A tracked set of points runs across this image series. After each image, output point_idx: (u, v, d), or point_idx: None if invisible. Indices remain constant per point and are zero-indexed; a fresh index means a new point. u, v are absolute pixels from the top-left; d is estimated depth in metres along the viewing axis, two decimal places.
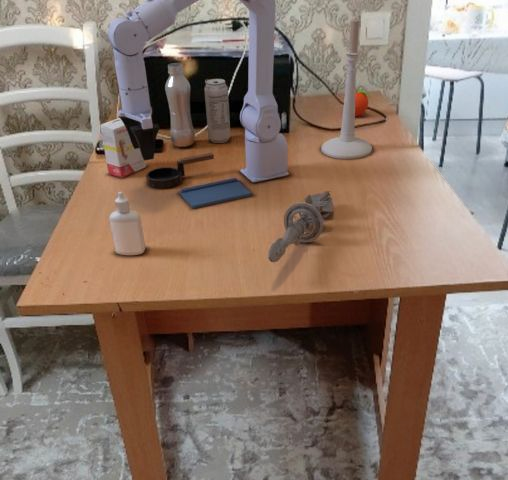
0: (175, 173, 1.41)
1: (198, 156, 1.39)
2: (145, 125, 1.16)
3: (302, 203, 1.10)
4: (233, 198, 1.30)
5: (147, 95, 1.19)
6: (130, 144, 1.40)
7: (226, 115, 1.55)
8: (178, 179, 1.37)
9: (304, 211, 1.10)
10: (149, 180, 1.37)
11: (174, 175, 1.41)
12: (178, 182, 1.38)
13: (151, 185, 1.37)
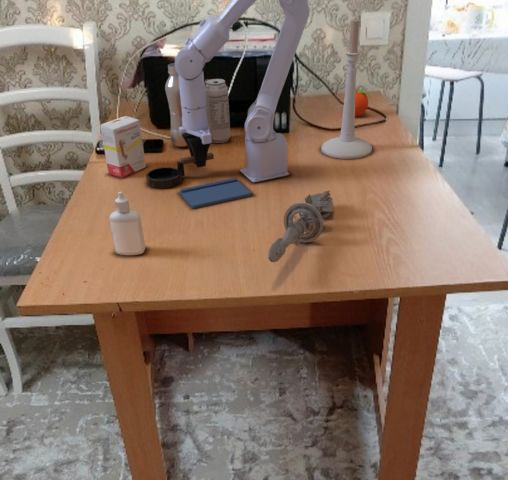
0: (175, 173, 1.41)
1: None
2: (205, 140, 1.31)
3: (302, 203, 1.10)
4: (233, 198, 1.30)
5: (206, 113, 1.33)
6: (130, 144, 1.40)
7: (226, 115, 1.55)
8: (178, 179, 1.37)
9: (304, 211, 1.10)
10: (149, 180, 1.37)
11: (174, 175, 1.41)
12: (178, 182, 1.38)
13: (151, 185, 1.37)
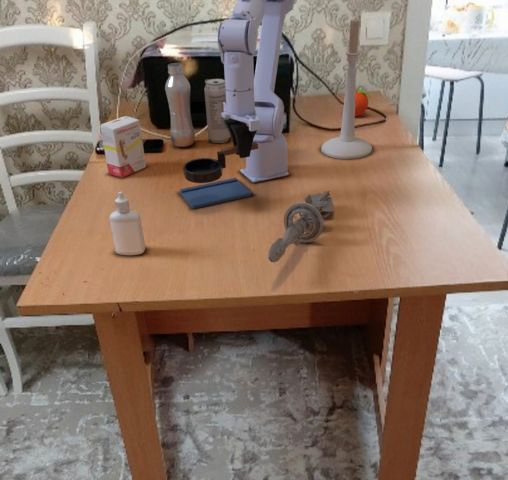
0: (215, 165, 1.26)
1: None
2: (253, 127, 1.15)
3: (302, 203, 1.10)
4: (233, 198, 1.30)
5: (253, 97, 1.18)
6: (130, 144, 1.40)
7: None
8: (219, 172, 1.22)
9: (304, 211, 1.10)
10: (187, 173, 1.22)
11: (214, 167, 1.26)
12: (219, 175, 1.23)
13: (188, 178, 1.22)
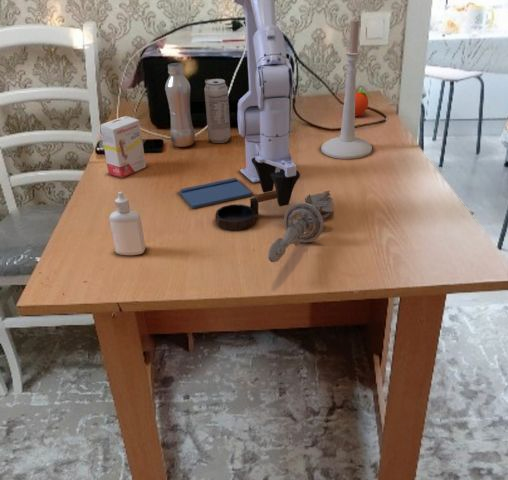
0: (247, 211, 1.24)
1: (274, 193, 1.22)
2: (289, 173, 1.13)
3: (302, 203, 1.10)
4: (233, 198, 1.30)
5: (288, 141, 1.15)
6: (130, 144, 1.40)
7: (226, 115, 1.55)
8: (252, 219, 1.20)
9: (304, 211, 1.10)
10: (220, 221, 1.19)
11: (246, 213, 1.24)
12: (252, 222, 1.20)
13: (221, 226, 1.20)
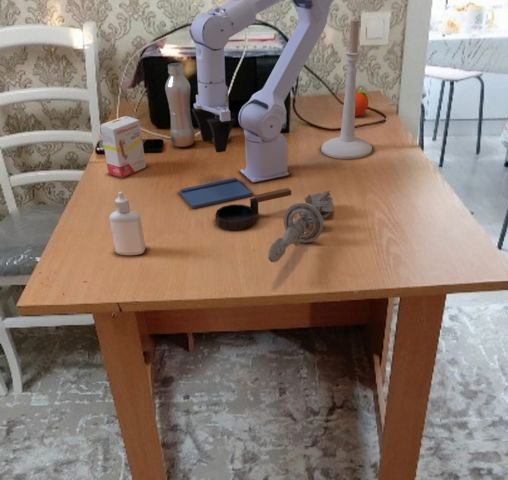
0: (247, 211, 1.24)
1: (274, 193, 1.22)
2: (223, 117, 1.20)
3: (302, 203, 1.10)
4: (233, 198, 1.30)
5: (224, 89, 1.23)
6: (130, 144, 1.40)
7: None
8: (252, 219, 1.20)
9: (304, 211, 1.10)
10: (220, 221, 1.19)
11: (246, 213, 1.24)
12: (252, 223, 1.20)
13: (221, 226, 1.20)
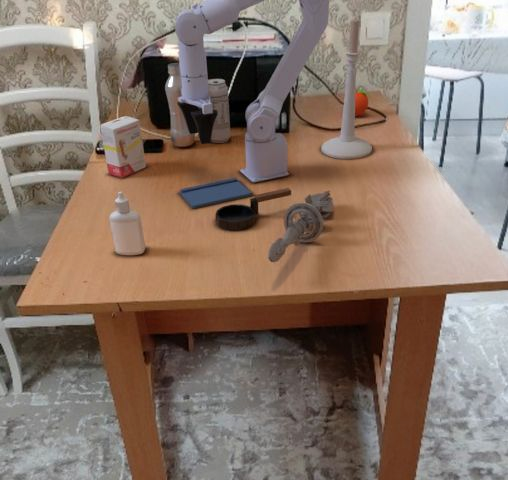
0: (247, 211, 1.24)
1: (274, 193, 1.22)
2: (206, 110, 1.25)
3: (302, 203, 1.10)
4: (233, 198, 1.30)
5: (207, 82, 1.27)
6: (130, 144, 1.40)
7: (226, 115, 1.55)
8: (252, 219, 1.20)
9: (304, 211, 1.10)
10: (220, 221, 1.19)
11: (246, 213, 1.24)
12: (252, 223, 1.20)
13: (221, 226, 1.20)
